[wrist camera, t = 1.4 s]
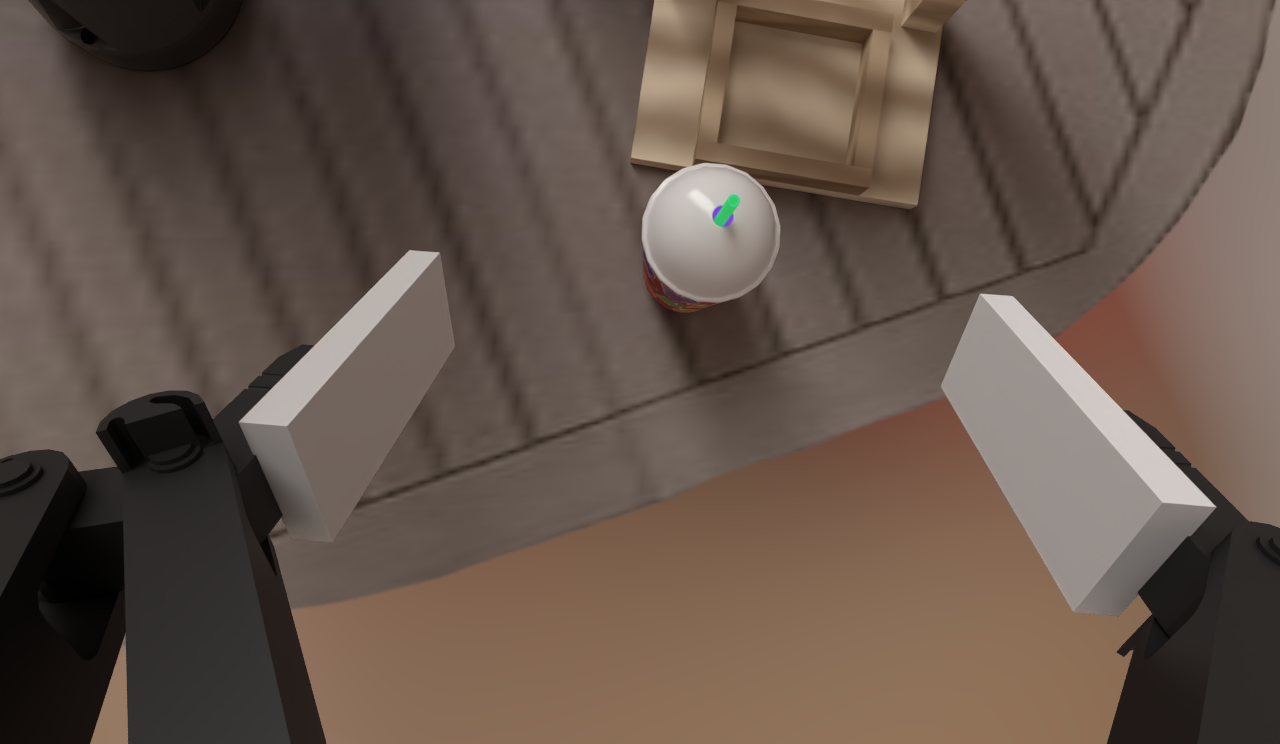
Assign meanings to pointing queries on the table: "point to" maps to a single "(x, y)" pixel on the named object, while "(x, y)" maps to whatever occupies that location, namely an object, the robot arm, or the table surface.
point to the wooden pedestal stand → (794, 92)
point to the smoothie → (708, 237)
